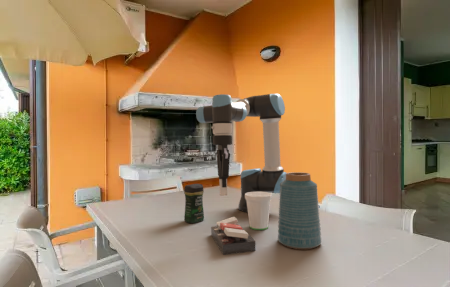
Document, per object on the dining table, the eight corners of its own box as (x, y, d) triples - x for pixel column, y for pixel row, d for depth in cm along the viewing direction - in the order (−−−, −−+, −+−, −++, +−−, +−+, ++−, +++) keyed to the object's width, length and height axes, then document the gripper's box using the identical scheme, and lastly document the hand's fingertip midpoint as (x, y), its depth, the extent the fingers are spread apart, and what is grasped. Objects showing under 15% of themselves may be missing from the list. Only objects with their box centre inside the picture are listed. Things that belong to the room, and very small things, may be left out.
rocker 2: (238, 229, 110) (239, 224, 110) (242, 232, 105) (243, 228, 105) (219, 226, 108) (220, 222, 108) (222, 230, 103) (223, 225, 104)
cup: (274, 224, 128) (274, 192, 128) (270, 232, 117) (269, 197, 116) (249, 222, 132) (248, 190, 132) (242, 230, 121) (241, 196, 121)
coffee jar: (192, 224, 130) (191, 186, 130) (181, 221, 135) (181, 184, 135) (207, 220, 137) (206, 183, 137) (196, 217, 142) (196, 182, 142)
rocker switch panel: (233, 227, 125) (233, 217, 125) (255, 250, 98) (255, 238, 98) (208, 229, 122) (208, 219, 122) (223, 254, 95) (222, 241, 95)
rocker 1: (234, 220, 116) (233, 216, 116) (238, 223, 112) (237, 219, 112) (217, 226, 114) (216, 222, 114) (219, 229, 110) (218, 225, 110)
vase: (315, 254, 94) (314, 177, 94) (271, 245, 103) (270, 175, 102) (325, 239, 108) (324, 172, 108) (286, 232, 116) (284, 170, 116)
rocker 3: (243, 234, 104) (244, 229, 104) (247, 238, 99) (248, 233, 99) (223, 231, 102) (224, 227, 102) (226, 235, 97) (227, 231, 97)
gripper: (209, 135, 111) (210, 192, 111) (216, 134, 99) (217, 199, 99) (227, 135, 113) (228, 191, 113) (236, 134, 100) (237, 197, 101)
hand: (223, 195), depth 106 cm, fingers closed
